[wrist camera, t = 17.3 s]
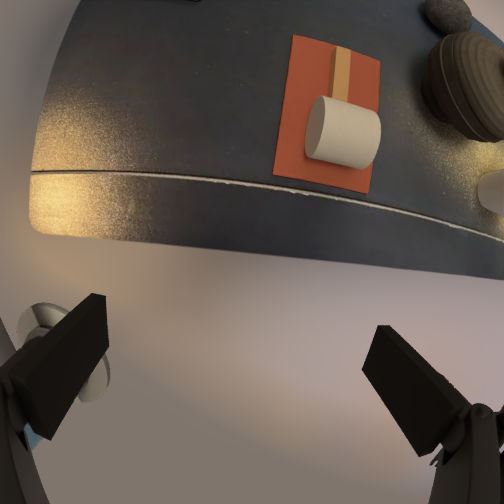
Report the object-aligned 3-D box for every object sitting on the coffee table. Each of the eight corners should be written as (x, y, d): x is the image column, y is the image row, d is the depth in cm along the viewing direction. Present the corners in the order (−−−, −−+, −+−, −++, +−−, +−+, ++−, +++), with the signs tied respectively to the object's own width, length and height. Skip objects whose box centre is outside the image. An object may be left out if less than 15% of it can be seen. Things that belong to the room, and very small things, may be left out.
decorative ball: (448, 49, 32) (479, 35, 22) (410, 15, 30) (437, -7, 21) (456, 27, 31) (484, 13, 21) (421, -5, 29) (446, -24, 19)
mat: (365, 193, 38) (368, 194, 37) (271, 174, 36) (272, 174, 36) (378, 62, 33) (380, 61, 32) (292, 36, 32) (293, 34, 31)
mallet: (316, 47, 32) (333, 21, 24) (360, 60, 32) (384, 39, 25) (301, 160, 35) (319, 153, 28) (349, 170, 36) (377, 168, 28)
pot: (452, 170, 37) (541, 161, 17) (385, 87, 35) (458, 30, 15) (485, 118, 35) (555, 98, 16) (428, 46, 33) (489, 1, 14)
